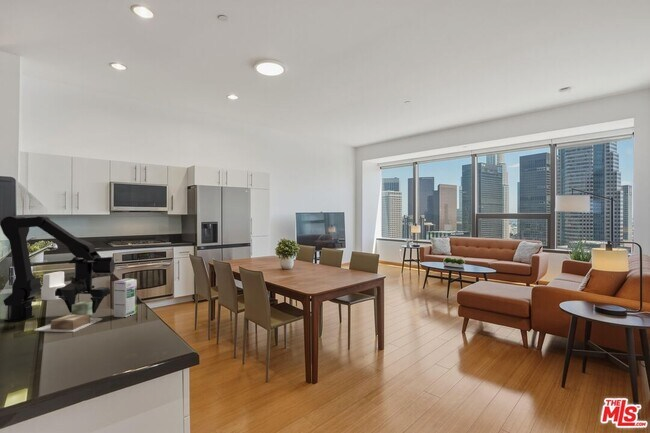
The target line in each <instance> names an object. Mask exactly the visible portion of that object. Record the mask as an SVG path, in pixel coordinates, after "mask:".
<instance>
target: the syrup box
mask: <svg viewBox="0 0 650 433" xmlns="http://www.w3.org/2000/svg"><path fill="white" fill-rule="evenodd" d="M137 282H138V281H137V279H136V278H123V279H118V280H115V281H114V282H113V317H115V318H124V317H126V318H127V317H128V318H129V317H131V316H133V315H136V314H137V295H138V294H137V292H138V290H137V288H138V286H137ZM130 315H131V316H130Z"/></svg>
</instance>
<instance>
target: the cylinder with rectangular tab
mask: <svg viewBox="0 0 650 433" xmlns="http://www.w3.org/2000/svg"><path fill="white" fill-rule="evenodd" d="M42 278H43V279H42V285H41V286H42V287H41V288H40V300H42V301H55V300H60V299H61V298H58V297H59V296H55V291H56V290H57V288H61V287H64V286H66V285H67V284H66V283H65V271H61V270H60V271H55V272H50V273H44V274H43V275H42ZM61 300H62V299H61Z"/></svg>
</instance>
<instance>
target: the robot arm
mask: <svg viewBox="0 0 650 433" xmlns="http://www.w3.org/2000/svg"><path fill="white" fill-rule="evenodd" d="M36 227H37V228H39V229H40V230H42V231H44V232H45V233H47V234H48V235H50V236H51V237H52V238H54V239H55V240H57V241H59V242H60V243H61V244H63V245H64V246H66V248H67V250H68V251H69V252H70V253H71V254H72V255H73V256H74V257H72V259H70V260H69V261H68V264H71V265H72V264H74V277H71V280H70V281H71V282H70V283H67V284H66V286H64V287H61V288H57V290H56V291H55V296H59V297H58V298H61V300H63V301H64V303H65V305H66V307H67V309H68V312H69V314H72V305H73V304H76V299H77V295H79V294H80V295H90V296H91V297H89V299H90V300H91V302H92V313H93V314H95V313H96V312H97V310H98V309H99V306H100V304H101V303H102V301H103V300H104V298H105V297H107V296H108V295H110V294H111V288H110V287H108V286H106V287H105V286H100V287H96V288H95V285H94V284H93V279H94V278H95V276H96V275H101V274H102V275H105V274H106V275H107V274H109V275H110V274H114V272H115V270H116V269H115V268H116V264H115V261H114V257H113V256H108V257H103V256H101V255H100V254H99V253H98V252H97V251H96V246H95V245H94V244H93V243H91V242H89V241H87V240H85V239H81V238H79V237H76V236H75V235H73V234H72V233H70V232H69V231H67V230H66V229H65V228H63V227H61V225H58V223H56V222H54V221H53V220H51V219H50V218H49V217H48V216H43V215H42V216H41V215H39V216H36V217H34V216H33V217H24V216H22V215H21V216H19V215H18V216H16V215H15V216H10V215H9V216H5V217H4V218H3V219H1V221H0V228H1V231H2V233H3V235H4V236H5V237H6V239H7V240H8V241H9V246H10V252H11V259H12V265H13V270H14V276H15V277H14V280H13V283H12V285H11V294H9V295H8V296H7V297H6V298H5V299H4V300H3V304H4V305H5V306H7V318H3V320H7V322H21V321H24V320H27V319H30V318H33V317H35V315H36V314H33V305H32V301H34V300H35V297H36V296H37V295H38V294H39V293H41V287H42V286H43V285H42V284H41V277H36V276H35V275H34V274H33V271H32V265H31V259H30V254H29V248H28V241H27V237H28V235H29V232H30V228H36ZM93 273H94V274H95V275H93Z"/></svg>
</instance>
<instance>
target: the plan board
mask: <svg viewBox="0 0 650 433" xmlns="http://www.w3.org/2000/svg"><path fill="white" fill-rule="evenodd" d="M91 316H92V315H91V314H72V313H69V314H64V315H62V316H59V317H57V318H54V319H52V320H50V323H49V324H46V325H43V326H41V327H38V328H35V329H34V330H33V332H54V333H55V332H56V333H57V332H58V333H74V332H75V333H76V332H77V331H80V330H81V329H84V328H86V327H88V326H91V325H93V324H95V323H98V322H100V321H102V320H103V317H102V318H98V317H96V318H95V317H91Z"/></svg>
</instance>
